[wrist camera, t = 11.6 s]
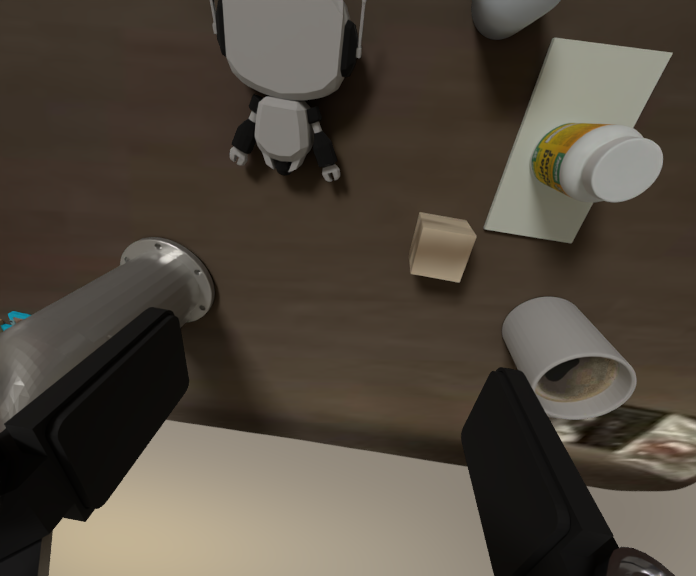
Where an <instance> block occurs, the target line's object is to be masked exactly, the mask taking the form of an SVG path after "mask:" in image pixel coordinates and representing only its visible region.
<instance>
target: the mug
mask: <svg viewBox="0 0 696 576" xmlns="http://www.w3.org/2000/svg"><path fill="white" fill-rule="evenodd" d="M502 336H503V339H504V341H505V343H506V345H507V348H508V350H509V352H510V354H511V356H512V358H513V360H514V362H515V365H516V367H517V369H518V370H520V371H522V372H523V373H524V374H525V376H526V378H527V380H528V381H529V383H530V385H531V387H532V389H533V391H534V392H535V394H536V396H537V398H538V400H539V401H540V403H541V405H542V407H543V409H544V410H545V412H546V414H547V416H548V417H553V418H562V419H571V420H576V419H588V418H593V417H597V416H600V415H603V414H606V413H608V412H611V411H612V410H614V409H616V408H618V407H619V406H621V405H622V404H623V403H624V402H626V401H627V400H628V399H629V397H630V396H631V395H632V393H633V392H634V390H635V387H636V374H635V371H634V370H633V368H632V367H631V365H630V364H629V363H628V362H627V361H626V360H625V359H624V358H623V357H622V356H621V355H620V354H619V352H618V351H617V350H616V349H615V348H614V347H613V346H612V345H611V344H610V343H609V342H608V341H607V339H606V338H605V337H604V336H603V335H602V334H601V333H600V332H599V331H598V330H597V329H596V328H595V327H594V325H593V324H592V323H591V322H590V321H589V320H588V319H587V318H586V317H585V316H584V315H583V314H582V312H581V311H580V310H579V309H578V308H577V307H576V306H575V305H574V304H572V303H571V302H569V301H567V300H565V299H561V298H557V297H539V298H535V299H532V300H529V301H526V302H524V303H522V304H520V305H519V306H517V307H516V308H515V309H513V310H512V311H511V312H510V313H509V315H508V316H507V317H506V319H505V321H504V323H503V327H502Z"/></svg>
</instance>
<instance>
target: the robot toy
mask: <svg viewBox="0 0 696 576" xmlns="http://www.w3.org/2000/svg"><path fill="white" fill-rule="evenodd" d="M365 3H366V0H362V12H361V22H360V32H359V40H358V34H357V29H356V25H355V24H354V23H353V22H351V21H350V18H349V13H348V9H347V6H346V4H345V3H344V2H343V0H218V5H217V11H216V10H215V4H214V0H210V4H211V9H212V15H213V20H214V23H213V24H212V25H213V30H214V34H217V40H218V43H219V46H220V49H221V52H222V55H224V56H226V57H227V60H228V62H229V65H230V67H231V70H232V72H233V73H234V74H235V75H236V76H237V77H238V78H239V79H240V80H241V81H242V82H243V83H244V84H246V85H247V86H249V87H251V88H253V89H255V90H257V91H258V92H261V93H263V94H266V95H269V96H266V97H265V98H264V99H263V98H262V97H260V96H259V95H255V94H254V95H253V97H252V99H251V102H250V104H249V108H250V109H251V110H252V112H251V114H250V117H249V118H248V119H247V120H246V121H244V122H243V123H242V124H241V125H239V127H238V128H237V131H236V133H235V136H234V139H233V141H232V145H233V146H234V147H233V148H231V150H230V159H231V160H232V161H233V162H234V161H236V158H237V156H238V157H239V160H238V162H237V164H238V165H244V164H245V163H246V162H247V161H248V159H247V154H250V153H251V152H252V150H253V147H254V145H255V143H256V142H257V146H258V147H259V149H260V150H261V151H262V153H263V156H264V159H265V162H266V164H267V165H268V166H269V167H271V168H272V169H275V168H276V169H277V171H278V173H279V174H281V175H285V176H286V175H289V174H290V173H291V171H293V170H296V169H297V168H298V167H300V166H301V165H302V164H303V161H304V159H305V157H306V154H307V153H308V152H309V151H311V148H312V146H313V150H314V153H315V156H316V159H317V162H318V165H319V167H323V170H322V175H323V177H324V179H325V180H326V181H328V182H331V181H332V178H331V175H330V173H331V172H332V173H333V176H334V181H335V180H337V179H339V177H340V169H339V168H338V167H337V166H336V164H335V162H336V161H337V158H336V155H335V151H334V148H333V145H332V142H331V140H330V139H329V138H328V137H327V136H326V134H325V133H324V132H323V131H322V129H321V126H320V123H319V121H320V120H321V119H322V117H321V113H320V110H319V107H318V106H316V107H313V108H311V107H310V106H309V105H308V104H307V103H306V102H305V101H304V100H311V99H317V98H322V97H325V96H328V95H330V94H331V93H333V92H335V91H336V90H338V89H339V87H340V85H341V83H342V81H343V79H344V77H348V76H350V74H351V72H352V70H353V68H354V66H355V64H356V59H357V58H361V53H362V47H361V41H362V31H363V22H364V12H365ZM314 133H315V134H314ZM313 143H314V144H313Z"/></svg>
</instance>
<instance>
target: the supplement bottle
mask: <svg viewBox="0 0 696 576" xmlns="http://www.w3.org/2000/svg"><path fill="white" fill-rule="evenodd" d="M662 164H663V154H662V151H661V149H660V147H659V146H658V145H657V144H656V143H655V142H653V141H651V140H649V139H645V138H643V136H642V135H641V134H640V133H639V132H638V131H636V130H635V129H633V128H631V127H628V126H624V125H617V124H591V123H566V124H562V125H559V126H556V127H554V128H553V129H551V130H549V131H548V132H547V133H545V134H544V135H543V136H542V138H541V139H540V140H539V141H538V142H537V144H536V146H535V147H534V150H533V152H532V155H531V158H530V167H531V171H532V173H533V175H534V177H535V178H536V179H537V180H538V181H540V182H541V183H543V184H545V185H547V186H549V187H551V188H553V189H555V190H557V191H558V192H560V193H562V194H565V195H567V196H569V197H571V198H573V199H575V200H578V201H582V202H600V201H607V202H622V201H626V200H629V199H632V198H634V197H636V196H638V195H639V194H641V193H642V192H644V191H645V190H646V189H647V188H649V187H650V186H651V184H652V183H653V182H654V181H655V180H656V178H657V177H658V175H659V173H660V171H661V168H662Z"/></svg>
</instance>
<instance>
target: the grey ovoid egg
mask: <svg viewBox="0 0 696 576" xmlns="http://www.w3.org/2000/svg"><path fill="white" fill-rule="evenodd" d="M560 1H561V0H472V6H471V12H472V18H473V22H474V24H475V26H476V28H477V30H478V31H479V32H480V33H481V34H482V35H483V36H485V37H486V38H489V39H493V40H501V39H505V38H508V37H510V36H512V35H514V34H516V33H517V32H519V31H520V30H522V29H523V28H525V27H526V26H528V25H529V24H531V23H532V22H534V21H535V20H537V19H538V18H540V17H541V16H543V15H545V14H546V13H547V12H549V11H550V10H551V9H553V8H554V7H555V6H556V5H557V4H558V3H559V2H560Z"/></svg>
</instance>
